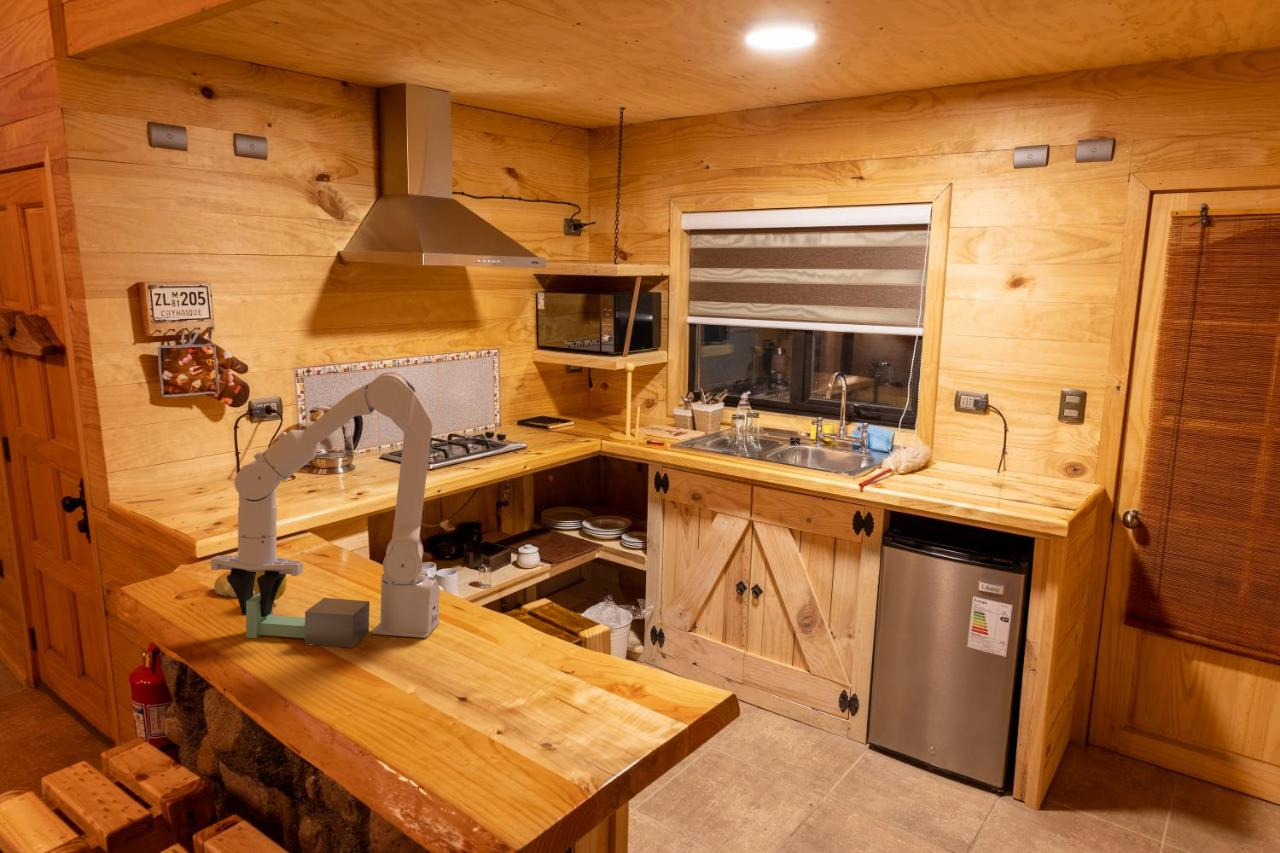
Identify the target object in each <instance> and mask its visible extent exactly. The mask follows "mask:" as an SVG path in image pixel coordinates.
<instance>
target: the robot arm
mask: <svg viewBox="0 0 1280 853" xmlns="http://www.w3.org/2000/svg"><path fill="white" fill-rule="evenodd" d="M374 411H376V412H378V413H380V414H381V415H383V416H385V417H386V418H389V419H390V420H391V421H392V422H393V423H394V424H395V425H396V426H397V427H398V428H399V429H400V430H401V431H402V432H403V440H402V442H403V443H402V449H401V457H400V458H401V459H400V460H401V461H400V468H399V477H398V483H397V484H398V485H397V492H396V493H397V494H396V502H395V512H394V520H393V528H392V535H391V539H390V541H389V542H388V544H387V546H386V552H385V553H386V554H385V556H384V558H383V561H382V571H383V573H382V574H381V577H380V578H381V579H380V585H381V586H380V617H379V618H380V621H379V623H378V624H377V625H376V626H375V627H374V628H373V629H372V630H371V632H370V633H371V634H372V635H381V636H382V635H383V636H395V637H396V636H399V637H410V638H422V639H423V638H424V639H426V638H427V637H428V636H429V635H430V634H431V633H432V632H433V630H434V629H435V628H436V627H437V626H438V624H439V623H440V619H439V614H440V612H439V610H440V609H439V608H440V585H439V582H438V581H437V580H434V579H430V578H427V577H426V573H425V572H424V571H423V570H422V568H423V556H424V545H423V544H422V541H421V536H420V534H421V526H422V519H423V518H422V517H423V511H424V510H423V509H424V500H425V492H426V484H427V483H426V482H427V474H428V467H429V466H428V465H429V458H430V449H431V441H432V432H433V420H432V417H431V416H430V413H429V412H428V410H427V409H426V407H425V405H424V403H423V401H422V400H421V398H420V395H419V393H418V392H417V389H416V387H415V385H413V384H412V383H410V382H409V381H408V380H407V379H406V378H405V377H404V376H403V375H401V374H400V373H397V372H393V371H389V372H384V373H381V374H380V375H377V377H375V378H374V379H373V380H372V381H369V382H367V383H365V384H364V385H362V386H359V387H357V388H356V389H355V390H352V391H351V392H349V393H348V394H346V395H345V396H344V397H343V398H342V399H340V400H339V401H338V402H337V403H336V404H334V405H333V406H332V407H331V408H330V409H328V410H327V411H326V412H325V413H324V414H323V415H321V416H320V417H319V418H318V419H316V420H315V421H314V422H313V423H312V424H310V425H309V426H308V427H306V428H305V429H302V430H301V429H291V430H290V431H288V432H286V431H282V432H281V433H280V434H278V435H277V436H276V439H278V440H276V442H274V443H273V444H272V445H270V446H269V447H267V449H265V450H264V451H263V452H261V451H258V452H257V453H256V454H254V455H253V458H254V459H255V460H253V461H251V462H249V463H247V464H246V465H243V466H242V467H241V469H240V470H239V471H238V472H237V473H236V476H235V479H234V488H235V490H236V493H238V507H237V555H216V556H213V557H211V558H210V570H211V571H219V570H227V571H231V572H230V575H228V576H227V581H228V582H229V584H230V585H231V587H232V588H233V590H234V592H235V594H236V596H237V597H236V598H237V601H238V604H239V607H240V611H241V615H242V616H246V601H247V600H249V599H250V598H252V597H253V596H254V595H253V589H254V582H255V576H256V572H264V575H262V576H260V577H258V578H257V582H258V585H259V590H260V597H261V605H260V610H261V617H266V616H268V615H269V614H271V611H272V606H273V607H274V603H275V601H274V599H275V596H276V594H277V591H278V589H279V587H280V585H281V583H282V581H283V579H284V578H285V576H286V577H287V575H291V576H292V577H298V576H300V575H301V574H303V573H304V572H303V571H304V570H303V569H304V562H303V561H298V560H292V559H287V558H283V557H279V556H277V518H278V516H277V514H278V511H277V508H278V507H277V504H276V503H277V500H276V499H277V497H276V496H277V493H276V492H277V491H276V489H277V487H278V486H279V485H280V483H281V482H284V481H286V480H288V479H289V478H291V477H292V476H293V475H294V474H296V473H297V472H298V471H299V470H301V469H302V468H303V467H304V466H305V465H306V464H307V463H310V461H312V460H313V459H314V458H315V457H316V456H317V452H318V451H317V450H318V449H317V448H318V444H320V443H322V441H324V440H325V439H326V438H328V437H329V436H331V435H332V434H333V433H334V432H335V431H337V430H338V429H340V428H341V427H342V426H343V425H345V424H346V423H347V422H348V421H351V420H352V419H353V418H354V417H358V416H365V415H371V414H372V413H373V412H374Z"/></svg>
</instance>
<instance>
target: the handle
mask: <svg viewBox="0 0 1280 853" xmlns="http://www.w3.org/2000/svg"><path fill="white" fill-rule="evenodd" d="M260 605H261V597H260V593H258V594H257V595H253V597H252V598H250V599H249V600H247V601H246V615H245V618H246V619H245V638H246V639H257V638H258V637H260V636H270V637H271V636H272V637H286V638H296V639H297V638H299V639H305V617H303V616H302V617H301V616H290V615H289V616H288V615H287V616H286V615H274V605H273V606H272V611H271V614H269V615H268V616H266V617H261V610H260Z"/></svg>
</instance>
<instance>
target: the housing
mask: <svg viewBox="0 0 1280 853" xmlns="http://www.w3.org/2000/svg"><path fill="white" fill-rule="evenodd" d="M304 614H305V615H304V616H305V617H304V618H305V638H304V645H305V644H313V645H312V646H317V645H320V646H322V647H332V648H334V647H335V648H346V649H353V648H354V647H355V646H356V645H357V644H358V643H360V642H361V640H362V639H364V638H365V637H366V636H367V635H368V634H369V632H370V631H369V630H370V601H369V600H360V599H348V598H347V599H346V598H345V599H344V598H331V597H330V598H329V597H323V598H322V599H321V600H319V601H318V602H316V603H315V604H314V605H312V606H311V607H309V608H307V609H306V611H305V613H304ZM320 646H319V647H320Z"/></svg>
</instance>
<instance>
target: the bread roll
mask: <svg viewBox="0 0 1280 853" xmlns="http://www.w3.org/2000/svg"><path fill="white" fill-rule="evenodd" d="M230 572H231V570H228V571H227V572H226V571H225V572H224V573H222V574H220V575H219V576H218V577H217V578H216V579H215V581H214V586H213V587H214V592H215V594H216V595H218V594H220V595H219V596H222V595H224V596H223V597H231V598H237V596H236V594H235V592H234V590H233V588H232V587H231V585H230V584H229V582H228V581H227V576H228V575H230ZM255 595H256V594H255V592H254V589H253V596H255Z"/></svg>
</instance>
